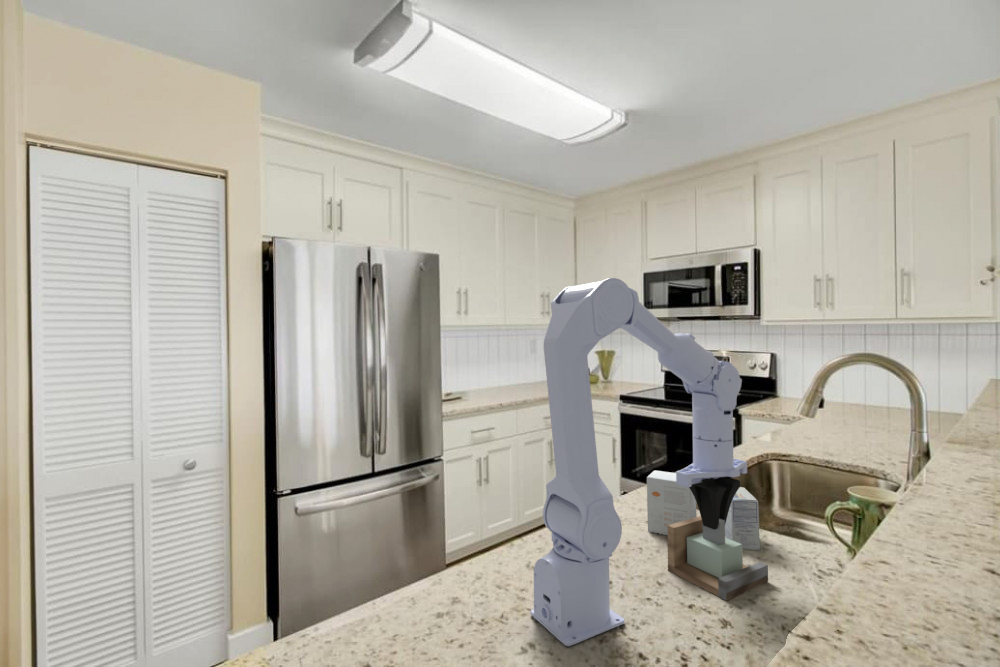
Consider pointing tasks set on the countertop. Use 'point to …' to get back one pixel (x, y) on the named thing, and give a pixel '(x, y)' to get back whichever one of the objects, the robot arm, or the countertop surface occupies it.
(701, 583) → the board
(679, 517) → the small box
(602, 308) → the robot arm
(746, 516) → the medicine box
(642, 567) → the countertop surface
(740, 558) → the mint block with tab
